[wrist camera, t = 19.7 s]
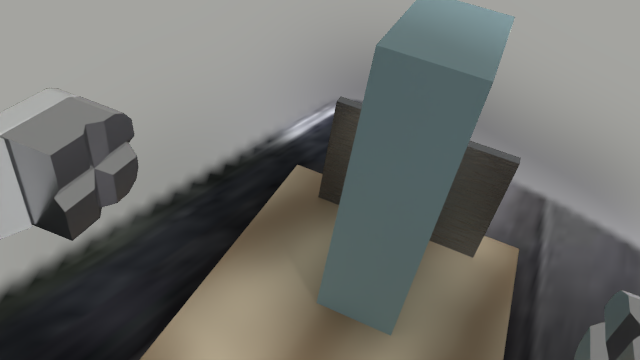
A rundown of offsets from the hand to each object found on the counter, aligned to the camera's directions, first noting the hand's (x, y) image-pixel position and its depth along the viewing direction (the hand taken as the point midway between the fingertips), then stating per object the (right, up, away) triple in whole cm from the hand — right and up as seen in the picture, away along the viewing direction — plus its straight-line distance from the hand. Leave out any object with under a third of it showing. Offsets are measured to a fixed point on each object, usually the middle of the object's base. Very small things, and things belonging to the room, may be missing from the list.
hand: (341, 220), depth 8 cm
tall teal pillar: (+3, -4, +20) cm, 20 cm away
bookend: (+4, -2, +24) cm, 24 cm away
